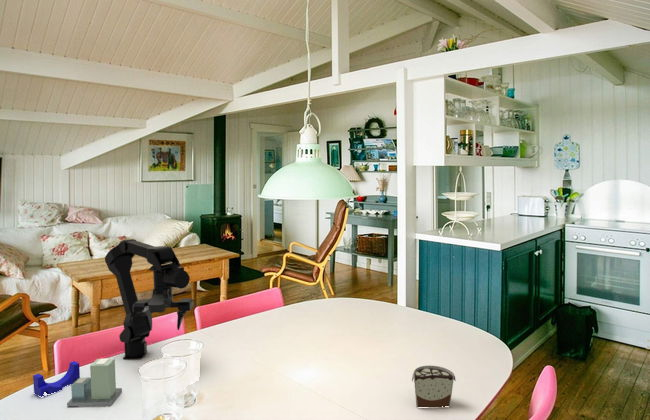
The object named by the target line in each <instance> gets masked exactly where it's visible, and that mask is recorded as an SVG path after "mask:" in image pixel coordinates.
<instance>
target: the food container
mask: <svg viewBox="0 0 650 420" xmlns="http://www.w3.org/2000/svg"><path fill="white" fill-rule="evenodd" d="M456 380H457V379H456V376H455V373H454V372H453V371H451V370H450V369H448V368H446V367H443V366H440V365H439V366H437V365H423V366H417V367H416V368H415V369H414V370H413V373H412V376H411V382H413V383H414V395H415V403H416V405H415V406H416V408H417V407H442V406H443V407H445V406H449V407H450V408H451V401H452V394H453V387H454V382H456Z"/></svg>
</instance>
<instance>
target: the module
mask: <svg viewBox="0 0 650 420" xmlns="http://www.w3.org/2000/svg"><path fill="white" fill-rule="evenodd" d="M115 362H116V359H115V358H105V357H104V358H97V359H96V360H94V362H92V363H91V364H90V366H89V371H90V373H89V374H90V378H91V395H92V399H110V398H111V396H112V395H113V394H114V393H115V392H116V388H117V382H116V381H117V379H116V363H115Z"/></svg>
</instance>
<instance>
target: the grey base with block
mask: <svg viewBox="0 0 650 420" xmlns="http://www.w3.org/2000/svg"><path fill="white" fill-rule="evenodd" d="M70 388H71V389H70V391H71V398H70V399H69V400H68V402H67V403H66V407H67V406H93V407H111V406H112V405H113V404H114V402H116V400H117V399H118V397H120V395H121V394H122V392H123V388H122V387H119V388H118V387H116V392H115V393H114V394H113V395H112V396H111V398H110V399H92V395H91V377H80V378H78V379H77V380H76V381H75V382H74V383H73V384H71V385H70Z"/></svg>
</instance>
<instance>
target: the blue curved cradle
mask: <svg viewBox="0 0 650 420" xmlns="http://www.w3.org/2000/svg"><path fill="white" fill-rule="evenodd" d="M80 372H81V371H80V363H79V362H77V361H75V360H73V361H70V362H69V365H68V369H67V370H66V372H65V374H64V375H63V376H62V377H61V378H60V379H58V380H57V381H53V382H46V381H45V378H44V375H42V374H40V373H36V374H33V375H32V381H33V382H32V383H33V394H34V393H35V394H37V395H39V396H41V397H42V396H44V395H43V394H44V392H46V393H47V394H51V393H54V392H56V393H58V392H57V391H59V390H62V389H63V390H64V388H65V386H66V387H68V386H71V385H72V384H73V383H74V382H75V381H76V380H77V379H78V378H81V375H80V374H81V373H80ZM70 384H71V385H70ZM67 385H68V386H67ZM63 390H62V391H63ZM59 392H60V391H59ZM35 394H34V395H35ZM54 394H55V393H54ZM51 395H52V394H51Z"/></svg>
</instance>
